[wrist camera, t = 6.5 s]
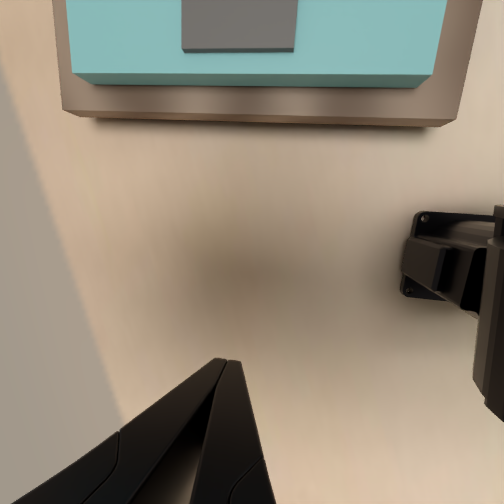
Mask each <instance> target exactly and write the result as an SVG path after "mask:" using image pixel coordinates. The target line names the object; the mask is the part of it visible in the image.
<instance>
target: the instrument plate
mask: <svg viewBox="0 0 504 504" xmlns="http://www.w3.org/2000/svg"><path fill="white" fill-rule="evenodd" d="M446 4H447V0H66V9H67V20H68V31H69V43H70V54H71V65H72V73H73V74H75V75H77V76H78V77H80V78H82V79H83V80H85V81H87V82H88V83H90V84H102V85H197V86H292V87H387V88H417V87H418V86H419V85H421V84H422V83H423V82H424V81H425V80H427V79H428V78H429V77H430V76H431V75H432V74H433V69H434V64H435V59H436V54H437V49H438V44H439V39H440V34H441V29H442V24H443V19H444V14H445V9H446Z"/></svg>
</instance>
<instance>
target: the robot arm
mask: <svg viewBox="0 0 504 504" xmlns="http://www.w3.org/2000/svg"><path fill="white" fill-rule="evenodd" d="M423 215H425V216H426V219H425V220H424V221H422V220H421V218H422V216H423ZM401 271H402V272H403V277H402V282H401V287H400V291H401V293H402V294H403V295H405V296H406V297H412V298H422V299H431V300H441V301H449V302H450V303H452V304H454V305H455V306H457V307H458V308H460V309H462V310H463V311H465V312H466V313H468V314H470V315H471V316H473V317H475V318H476V319H478V328H477V336H476V345H475V354H474V362H473V380H474V382H475V383H476V385H477V387H478V388H479V390H480V392H481V393H482V395H483V396H484V397H485V401H484V404H485V405H486V407H487V408H488V409H490V410H491V411H492V412H493V413H494V414H495V415H496V416H497V417H498V418H499V419H500V420H502V421H503V422H504V205H494V214H493V216H490V215H475V214H459V213H444V212H429V211H421V212H419V213H417V214H416V216H415V219H414V224H413V228H412V233H411V237H410V238H409V239H408V240H407V245H406V250H405V254H404V259H403V264H402V269H401ZM407 288H410V291H409V292H406V289H407ZM12 504H276V501H275V497H274V493H273V490H272V486H271V482H270V479H269V475H268V471H267V467H266V463H265V460H264V455H263V451H262V447H261V443H260V439H259V434H258V430H257V426H256V422H255V418H254V414H253V409H252V405H251V401H250V397H249V393H248V389H247V385H246V380H245V376H244V372H243V368H242V364H241V362H240V361H236V360H228V361H227V360H226V359H222V358H214V359H213V360H211V361H210V362H209V363H207V364H206V365H205V366H203V367H202V368H201V369H199V370H198V371H197V372H195V373H194V374H193V375H191V376H190V377H189V378H187V379H186V380H185V381H183V382H182V383H181V384H179V385H178V386H177V387H175V388H174V389H173V390H171V391H170V392H169V393H167V394H166V395H165V396H163V397H162V398H161V399H159V400H158V401H157V402H155V403H154V404H153V405H151V406H150V407H149V408H147V409H146V410H145V411H143V412H142V413H141V414H139V415H138V416H137V417H135V418H134V419H133V420H131V421H130V422H129V423H127V424H126V425H125V426H123V427H122V428H121V429H120V431H117V432H115V433H114V434H113V435H111V436H110V437H108V438H107V439H106V440H105V441H103V442H102V443H100V444H99V445H98V446H96V447H95V448H94V449H92V450H91V451H89V452H88V453H87V454H85V455H84V456H82V457H81V458H80V459H78V460H77V461H75V462H74V463H72V464H71V465H69V466H68V467H67V468H65V469H63V470H62V471H60V472H59V473H57V474H56V475H54V476H53V477H51V478H50V479H49V480H47V481H46V482H44V483H42V484H41V485H39V486H38V487H36V488H35V489H33V490H32V491H30V492H29V493H27V494H25V495H24V496H22V497H21V498H19V499H18V500H16V501H15V502H13V503H12Z"/></svg>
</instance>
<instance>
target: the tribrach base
mask: <svg viewBox="0 0 504 504" xmlns="http://www.w3.org/2000/svg"><path fill="white" fill-rule="evenodd" d="M482 1H483V0H447V4H446V9H445V14H444V19H443V24H442V29H441V34H440V39H439V44H438V49H437V54H436V59H435V64H434V69H433V74H432V75H431V76H430V77H429V78H428V79H427V80H425V81H424V82H423V83H422V84H421V85H419V86H418V87H417V88H387V87H292V86H197V85H102V84H90V83H88V82H87V81H85V80H83V79H82V78H80V77H78V76H77V75H75V74H73V73H72V65H71V54H70V43H69V31H68V20H67V9H66V0H52V4H53V15H54V26H55V36H56V47H57V57H58V68H59V78H60V89H61V99H62V110H64V111H67V112H69V113H72V114H74V115H76V116H79V117H97V118H133V119H169V120H205V121H241V122H277V123H313V124H349V125H385V126H421V127H441V126H443V125H445V124H447V123H450V122H452V121H454V120H456V118H457V113H458V109H459V104H460V100H461V96H462V91H463V87H464V82H465V78H466V73H467V69H468V64H469V60H470V55H471V51H472V46H473V42H474V37H475V33H476V28H477V24H478V19H479V15H480V10H481V6H482Z"/></svg>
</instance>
